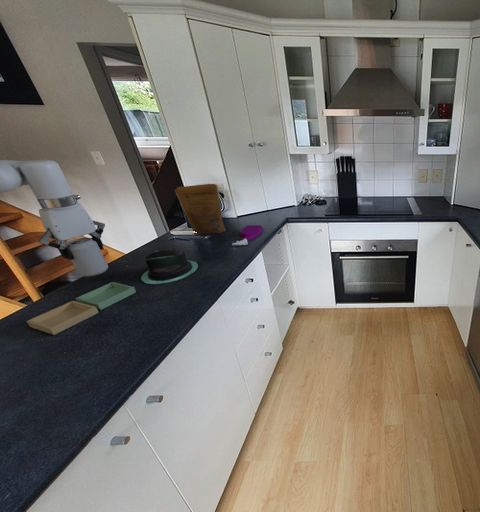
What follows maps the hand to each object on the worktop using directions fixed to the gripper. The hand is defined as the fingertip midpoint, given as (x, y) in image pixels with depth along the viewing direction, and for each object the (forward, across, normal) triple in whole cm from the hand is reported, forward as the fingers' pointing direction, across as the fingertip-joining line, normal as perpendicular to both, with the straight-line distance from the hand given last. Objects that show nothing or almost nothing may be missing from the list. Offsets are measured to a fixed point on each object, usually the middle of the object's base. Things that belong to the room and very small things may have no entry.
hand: (85, 253), depth 91 cm
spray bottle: (+18, -64, +7) cm, 67 cm away
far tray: (+18, 0, 0) cm, 18 cm away
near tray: (+18, +12, +1) cm, 22 cm away
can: (+7, 0, 0) cm, 7 cm away
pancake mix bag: (+18, -62, -18) cm, 67 cm away
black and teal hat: (+18, -22, +3) cm, 28 cm away
